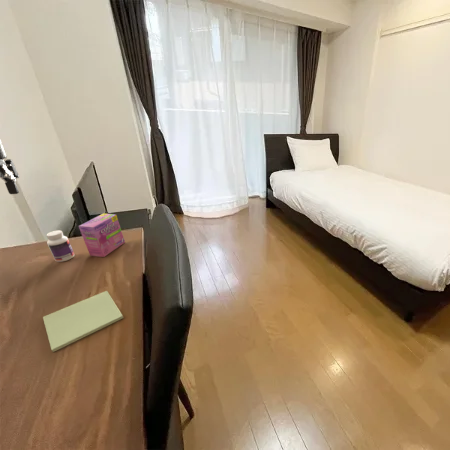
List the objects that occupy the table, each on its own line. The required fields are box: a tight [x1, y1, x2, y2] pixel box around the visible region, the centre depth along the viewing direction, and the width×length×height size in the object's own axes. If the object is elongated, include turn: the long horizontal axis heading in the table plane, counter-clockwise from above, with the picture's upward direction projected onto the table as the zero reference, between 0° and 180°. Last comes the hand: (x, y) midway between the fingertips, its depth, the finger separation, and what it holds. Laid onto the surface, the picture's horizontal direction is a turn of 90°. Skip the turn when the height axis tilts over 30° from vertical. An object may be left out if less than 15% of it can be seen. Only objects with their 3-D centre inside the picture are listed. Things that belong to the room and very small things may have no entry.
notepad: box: [42, 290, 124, 353], centre depth 68 cm, size 14×14×1 cm
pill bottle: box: [46, 230, 76, 263], centre depth 91 cm, size 5×5×10 cm
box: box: [78, 213, 126, 258], centre depth 96 cm, size 10×6×12 cm, turn 171°
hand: (4, 197), depth 82 cm, fingers open, 8 cm apart
